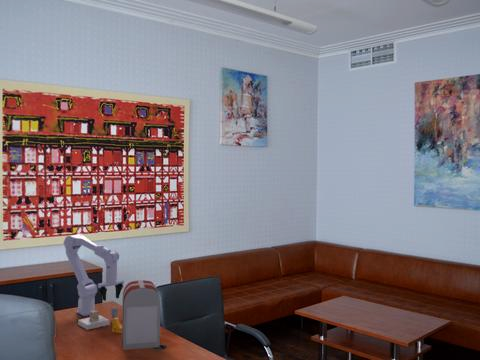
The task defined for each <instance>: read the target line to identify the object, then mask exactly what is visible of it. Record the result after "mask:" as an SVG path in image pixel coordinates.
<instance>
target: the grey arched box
mask: <svg viewBox="0 0 480 360" xmlns="http://www.w3.org/2000/svg"><path fill="white" fill-rule="evenodd" d="M121 311H122V315H121V316H122V318H121V321H122V322H121V325H122V333H121V345H122V350H124V351H125V350H138V349H150V348H151V349H152V348H153V349H154V348H160V339H161V298H160V294H159V291H158V289H157V288H156V285H155V283H154V282H152V281H150V280H144V279H138V280H132V281H129V282H127V284H126V285H125V286H124V287H123V292H122V310H121Z"/></svg>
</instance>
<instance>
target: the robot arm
mask: <svg viewBox="0 0 480 360" xmlns="http://www.w3.org/2000/svg"><path fill="white" fill-rule="evenodd" d="M63 245H64V247H65V255H66V257H67V259H68V262H69V264H70V266H71V268H72V270H73V273H74V276H75V277H76V280H77V282H78V283H77V286H76V288H77V293H78V301H77V307H78V308H77V311H76V313H77V314H79V315H81V316H83V317H85V316H90V311H94V310H95V303H96V302H95V296H96V294H97V293H98V290H99V292H100V294H101V297H102V300H103V302H106V301H107V291H108V288H107V287H111V286H112V287H113V286H114V288H115V298H116V299H119V298H120V295H121V292H122V290H123V289H124V284H125V280H124V279H119V280H118V279H117V278H118V276H117V275H118V274H117V273H118V261H119V259H120V255H119V252H118V251H116V250H111V249H108V248H107V247H105V245H103V244H98V245H97V244H96V243H94V242H93V241H91V240H89V239H88V238H87V237H86V236H85V235H83V234H82V233H78V234H77V233H76V234H72V235H67V236H66V237H65V238H64V241H63ZM82 246H83V247H85V248H87V249H89V250H90V251H92V252H94V255H96V256H97V257H99V258H101V259H103V261H104V263H105V282H101V283H97V284H96V283H94V281H93V279H91V278H89V276H88V274H87V272H86V269H85V267H84V265H83V263H82V260H81V258H80V256H79V254H78V251H79V249H80V248H81V247H82Z"/></svg>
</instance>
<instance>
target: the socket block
mask: <svg viewBox="0 0 480 360" xmlns="http://www.w3.org/2000/svg"><path fill="white" fill-rule="evenodd" d="M77 324H78V326H79V327H81V328H83V329H85V330H86V331H89V330H92V329H97V328H100V327H101V326H102V327H106V325H107V326H110V319H108V318H106V317H104V316H102V315H100V314H99V321H94V322H91V321H90V317H85V318H81V319H78V323H77ZM102 327H101V328H102Z"/></svg>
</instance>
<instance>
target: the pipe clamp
mask: <svg viewBox="0 0 480 360" xmlns="http://www.w3.org/2000/svg"><path fill="white" fill-rule="evenodd" d="M111 325H112V327H111V328H112V329H111V331H112V333H117V334H122V322H120V318H119V317H118V318H116V317H115V318H113V319H112V323H111Z"/></svg>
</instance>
